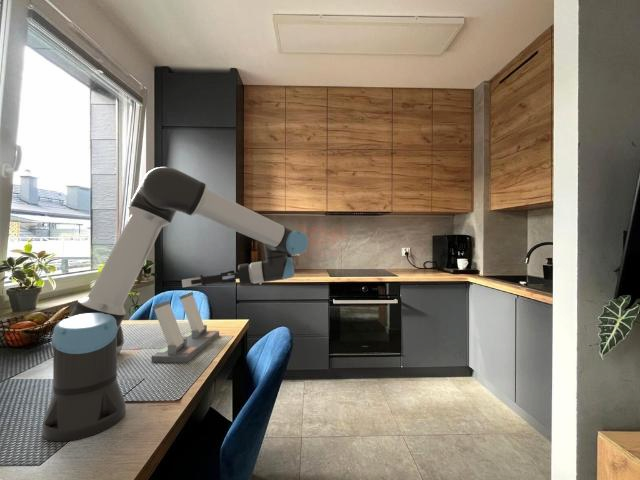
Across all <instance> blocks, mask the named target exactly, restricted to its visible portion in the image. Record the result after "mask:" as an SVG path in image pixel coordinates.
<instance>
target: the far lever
mask: <svg viewBox="0 0 640 480" xmlns="http://www.w3.org/2000/svg"><path fill="white" fill-rule="evenodd" d="M178 298H179V300H180V302H181V305H182V307H183V309H184V312H185V315H186V318H187V322H188V324H189V327H190V329H191V331H192V330H199V335H200V334H201V333H203V332H204V329H205V328H204V325H205V324H204V322H203V319H202V317H201V314H200V312H199V308H198V306H197V303H196V300H195V297H194V292H193V291H191V292H188V293H185V294H182V295H180V296H179V297H178Z"/></svg>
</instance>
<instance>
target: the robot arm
mask: <svg viewBox="0 0 640 480" xmlns="http://www.w3.org/2000/svg"><path fill="white" fill-rule="evenodd" d="M127 208H128V210H129V213H130V215H129V218H128V219H127V221H126V223H125V225H124V227H123V229H122V231H121V233H120V235H119V236H118V238H117V240H116V242H115V244H114V245H113V248H112V250H111V252H110V253H109V256H107V257H108V258H107V259H106V261H105V262H104V264H103V266H102V269H101V271H100V272H99V275H98V276H97V277H96V280H95V282H94V284H93V286H92V287H91V289H90V290H89V293H88V295H87V296H84V297H82V298H79V299H78V300H77V302H76V303H75V306H74V308H73V310H72V311H71V313H70V315H69V316H68V318H64V319H62V320H60V321H59V322H57V323H56V325H55V326H54V328H53V334H52V337H51V343H52V345H53V346H52V347H53V348H52V350H53V352H52V355H53V360H52V361H53V362H52V363H53V367H52V368H53V369H52V370H53V371H52V380H53V381H52V383H53V384H52V391H53V392H52V397H51V400H50V403H49V405H48V408H47V410H46V412H45V413H46V414H45V416H44V418H43V420H42V437H43V438H44V439H46V440H47V441H51V442H70V441H76V440H81V439H83V438H87V437H91V436H93V435H96V434H99V433H101V432H104V431H105V430H107V429H109V428H111V427H112V426H114V425H116V424H117V423H118V422H119V421H121V420H122V419H123V418H124V416H125V414H126V400H125V397H124V395H123V393H122V390H121V388H120V386H119V382H118V379H117V377H118V376H117V371H118V369H117V367H118V366H117V363H118V362H117V360H118V358H117V357H118V356H117V355H118V353H117V331H118V329H119V327H120V325H122V322H123V320H124V318H125V317H126V313H127V312H126V309H125V307H124V305H125V302H126V300H127V299H128V296H129V294H130V292H131V290H132V288H133V287H134V284H135V282H136V280H137V278H138V276H139V275H140V272H141V270H142V269H143V266H144V264H145V262H146V260H147V258H148V256H149V254H150V252H151V250H152V249H153V246H154V244H155V243H156V240H157V238H158V237H159V234H160V233H161V230H162V228H163V227H166V226H169V225H170V224H171V222H172V221H173V218H174V217H175V215H176V214H177V212H180V213H183V214H185V215H188V216H191V217H192V216H195V215H197V216H199V217H202V218H205V219H206V220H209V221H211V222H214V223H216V224H217V225H221V226H223V227H225V228H228V229H230V230H232V231H235V232H237V233H239V234H240V235H241V234H242V235H244V236H246V237H249V238H252V239H253V240H256V241H258V242H260V243H263V248H264V253H265V255H264V257H265V260H263V261H260V260H259V261H255V262H251V263H250V264H249V263H241V264H238V266H237V271H236V272H235V270H229V271H226V272H221V273H219V274H216V275H215V274H214V275H206V276H205V275H204V276H203V274H201V275H199V277H198V276H197V277H191V278H184V279H181V284H182V285H181V287H182V288H187V287H196V286H202V285H203V287H206V286H207V285H209V284H214V283H234V282H236V281H237V280H239V284H240V285H241V286H248V285H252V284H259V285H263V284H262V283H267V282H276V281H282V280H287V279H292V278H294V276H295V268H294V260H293V258H292V257H289V256H288V255H292V256H295V255H296V256H297V255H302V254H303V253H304V252H305V251H307V249H308V246H309V239H308V236H307V235H306V233H304V232H303V231H301V230H297V229H295V230H293V229H291V228H288V227H286V226H284V225H283V224H281V223H278V222H276V221H274V220H272V219H271V218H268V217H266V216H263V215H262V214H259V212H255V211H253V210H251V209H249V208H247V207H245V206H243V205H241V204H239V203H237V202H235V201H234V200H231V199H229V198H226V197H225V196H222V195H220V194H219V193H216V192H215V191H212V190H210V189H209V188H208V186H207V183H205V182H203V181H200V180H198V179H196V178H195V177H193V176H191V175H188V174H187V173H185V172H184V171H183V172H182V171H180V170H178V169H177V168H173V167H169V166H160V167H159V166H158V167H155V168H153V169H151V170H149V171H148V172H146V174H145V175H144V177H143V179H141V180H140V181H139V183H138V185H137V187H136V190H135V193H134V195H133V196H132V199H131V200H130V202H129V204H128V206H127Z"/></svg>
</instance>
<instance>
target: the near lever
mask: <svg viewBox="0 0 640 480" xmlns="http://www.w3.org/2000/svg"><path fill="white" fill-rule="evenodd" d="M152 309H153V310H154V312H155V315H156V318H157V320H158V323H159V326H160V328H161V331H162V335H164V339H165V342H166V344H167V346H169V345H176V351H177V350H178V349H180V348H181V347H183V343H184V340H183V338H182V337H183V335H182V333H181V330H180V327H179V325H178V322H177V320H176V317H175V314H174V312H173V309H172V306H171V302H170V300H166V301H163V302H161V303H158V304H156V305H153V306H152Z"/></svg>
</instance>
